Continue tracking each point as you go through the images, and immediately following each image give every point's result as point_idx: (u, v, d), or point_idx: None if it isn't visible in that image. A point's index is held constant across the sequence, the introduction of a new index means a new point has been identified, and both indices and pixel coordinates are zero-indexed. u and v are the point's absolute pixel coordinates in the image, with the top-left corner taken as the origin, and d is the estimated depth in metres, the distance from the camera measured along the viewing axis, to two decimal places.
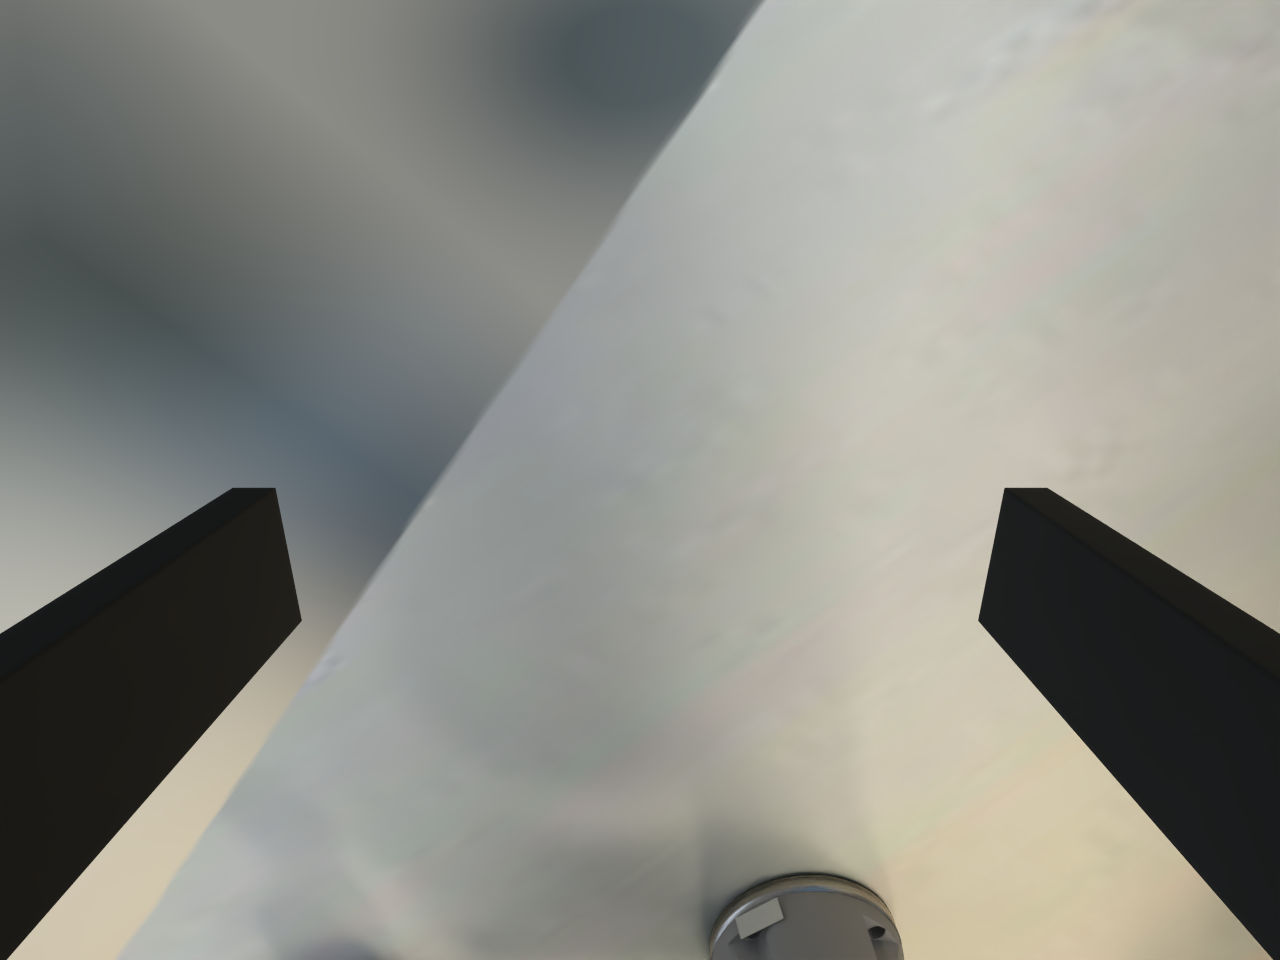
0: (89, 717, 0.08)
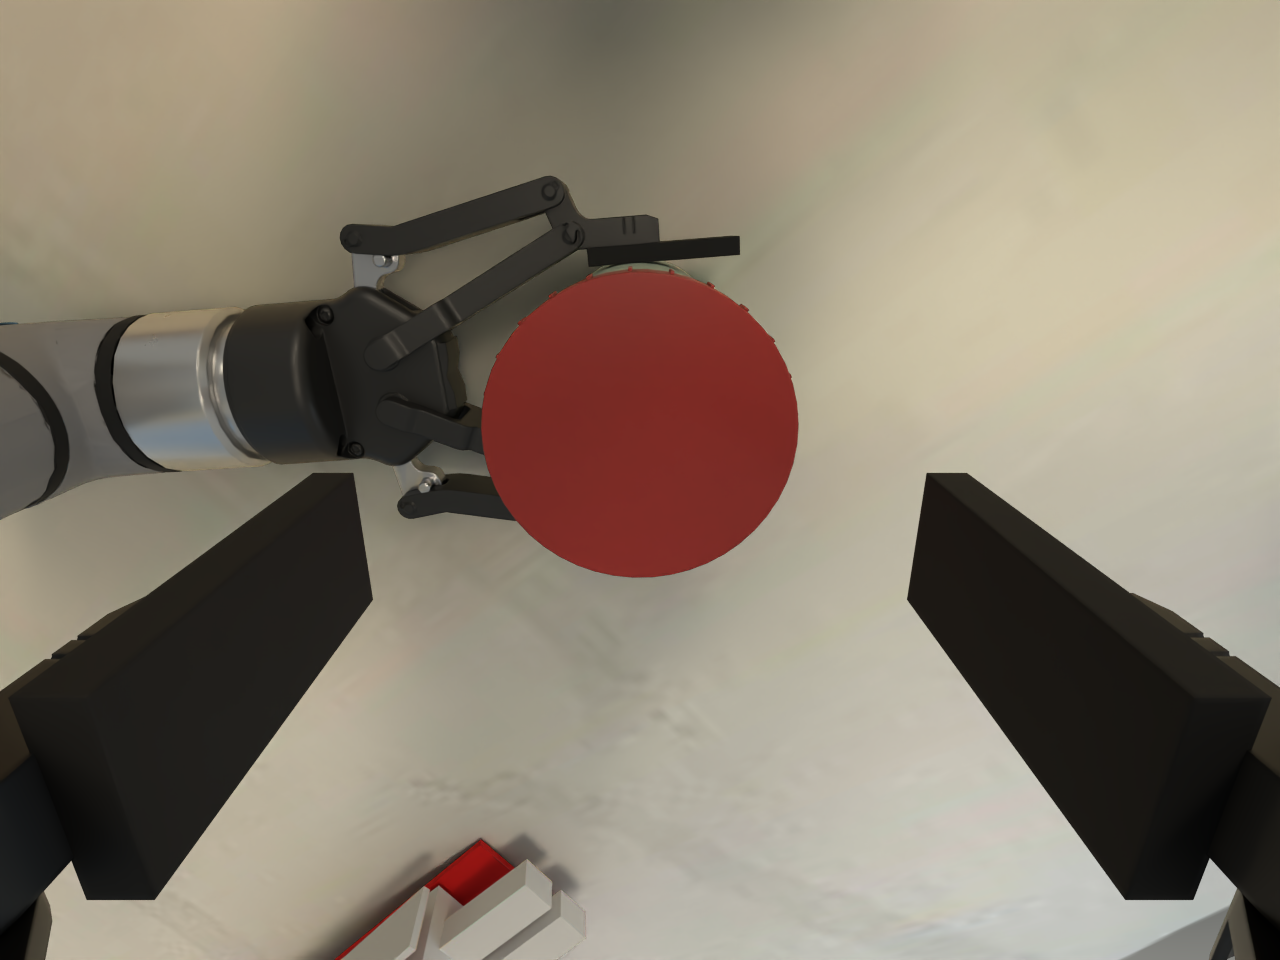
0: (219, 675, 0.09)
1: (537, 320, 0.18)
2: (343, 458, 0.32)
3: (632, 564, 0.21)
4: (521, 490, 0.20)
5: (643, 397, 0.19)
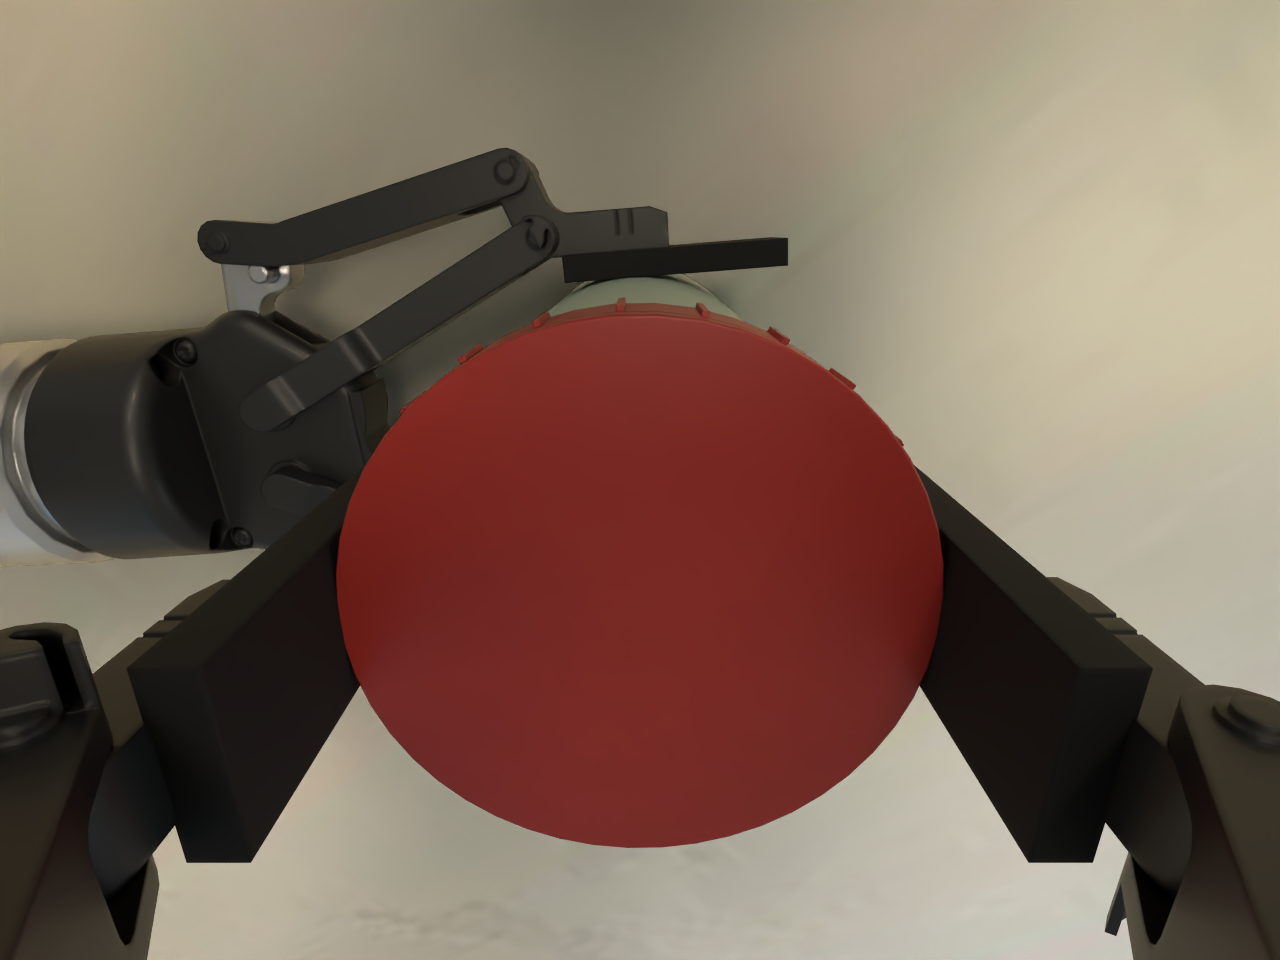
0: (299, 654, 0.09)
1: (433, 410, 0.09)
2: (222, 551, 0.23)
3: (626, 828, 0.12)
4: (420, 711, 0.11)
5: (646, 552, 0.10)
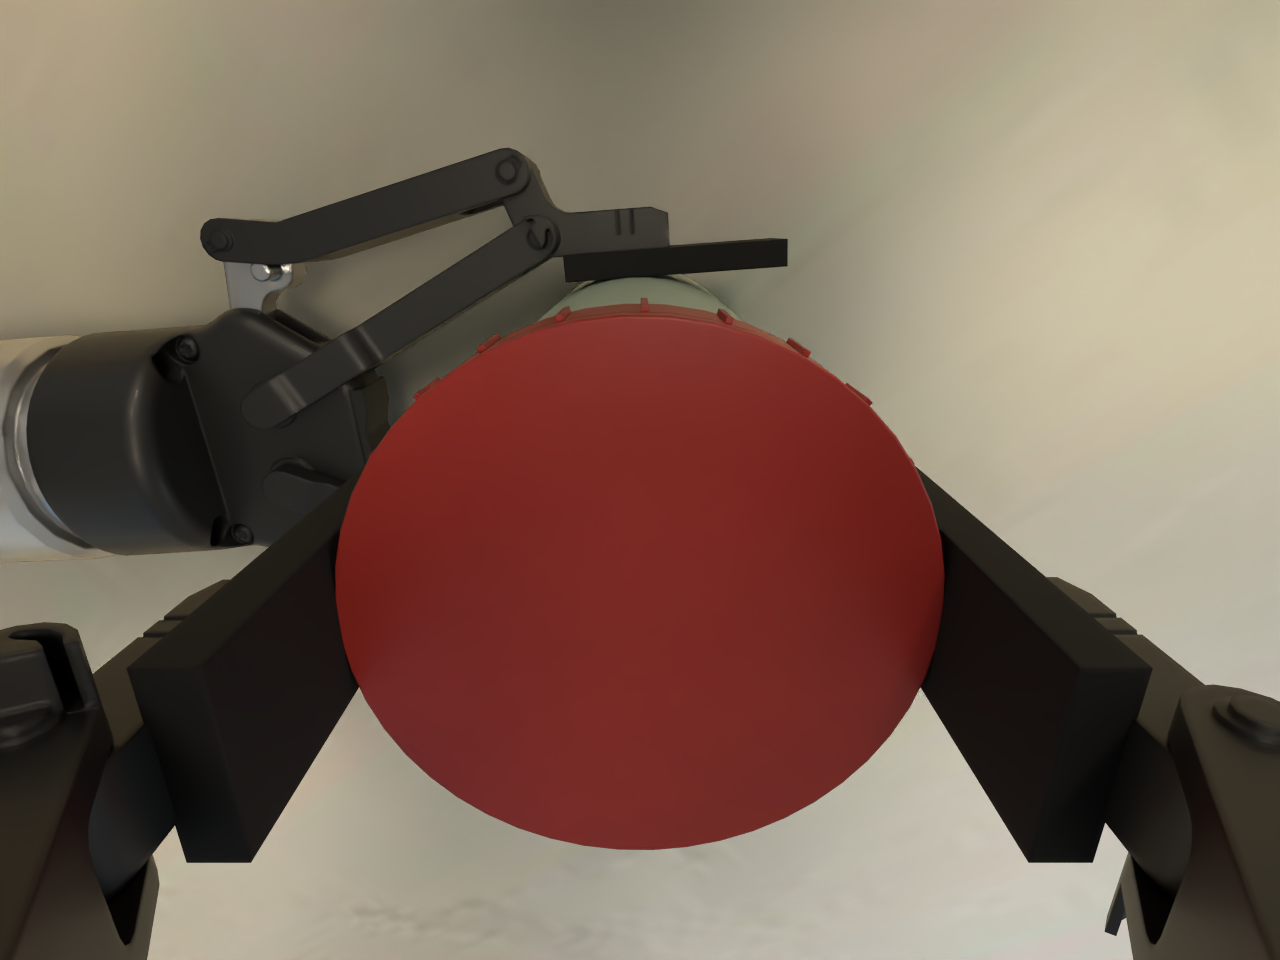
0: (300, 654, 0.09)
1: (577, 834, 0.12)
2: (223, 547, 0.23)
3: (887, 488, 0.10)
4: (849, 727, 0.11)
5: (573, 657, 0.10)
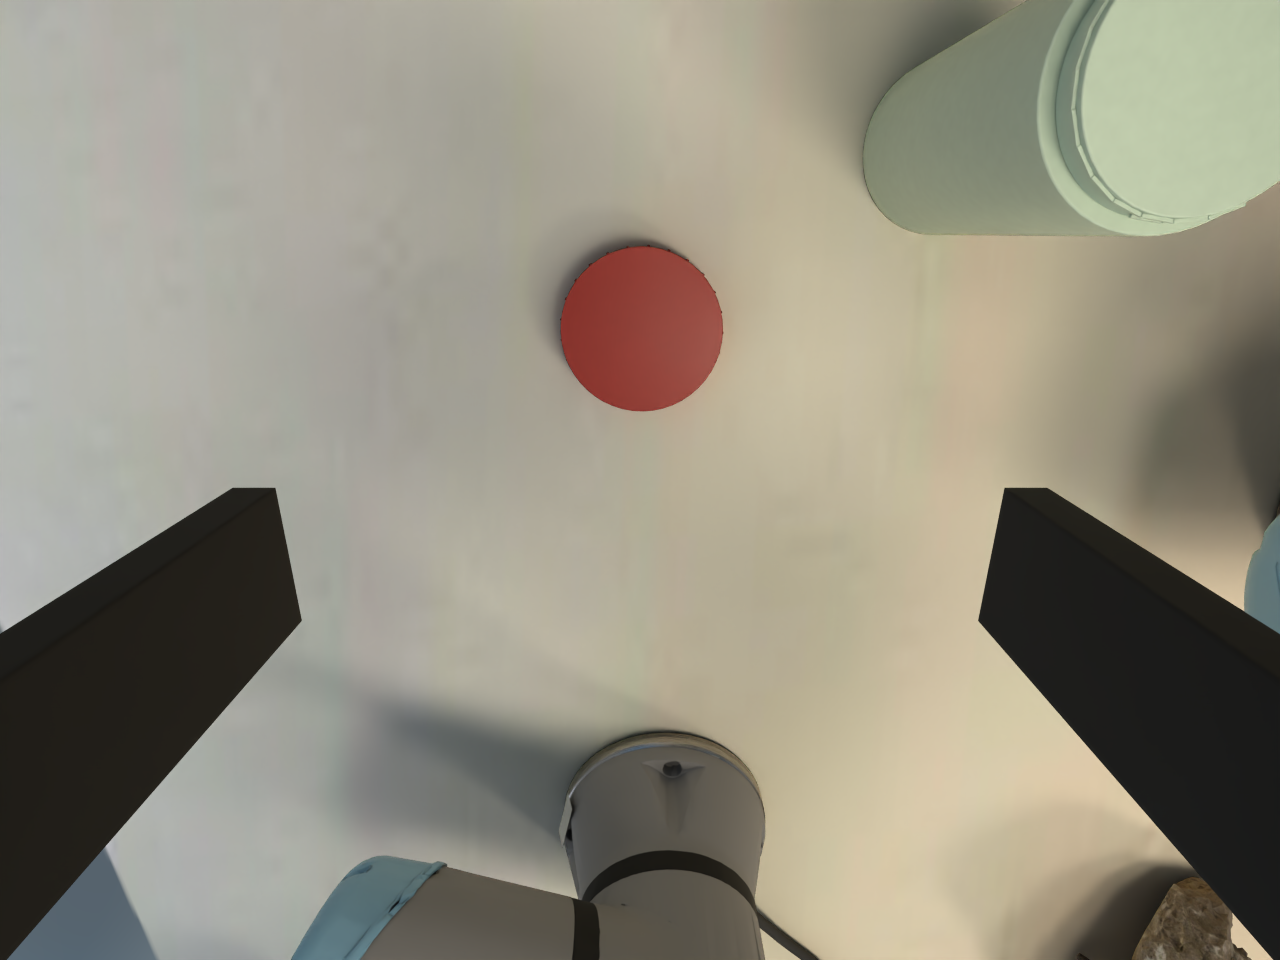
0: (89, 717, 0.08)
1: (714, 303, 0.38)
2: None
3: (573, 304, 0.38)
4: (634, 260, 0.37)
5: (660, 340, 0.38)
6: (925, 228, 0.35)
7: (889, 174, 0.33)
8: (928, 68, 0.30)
